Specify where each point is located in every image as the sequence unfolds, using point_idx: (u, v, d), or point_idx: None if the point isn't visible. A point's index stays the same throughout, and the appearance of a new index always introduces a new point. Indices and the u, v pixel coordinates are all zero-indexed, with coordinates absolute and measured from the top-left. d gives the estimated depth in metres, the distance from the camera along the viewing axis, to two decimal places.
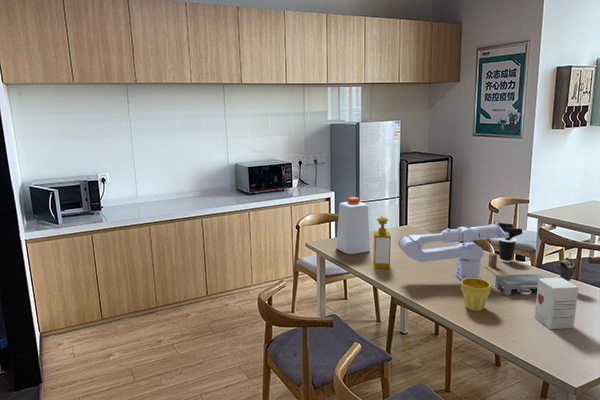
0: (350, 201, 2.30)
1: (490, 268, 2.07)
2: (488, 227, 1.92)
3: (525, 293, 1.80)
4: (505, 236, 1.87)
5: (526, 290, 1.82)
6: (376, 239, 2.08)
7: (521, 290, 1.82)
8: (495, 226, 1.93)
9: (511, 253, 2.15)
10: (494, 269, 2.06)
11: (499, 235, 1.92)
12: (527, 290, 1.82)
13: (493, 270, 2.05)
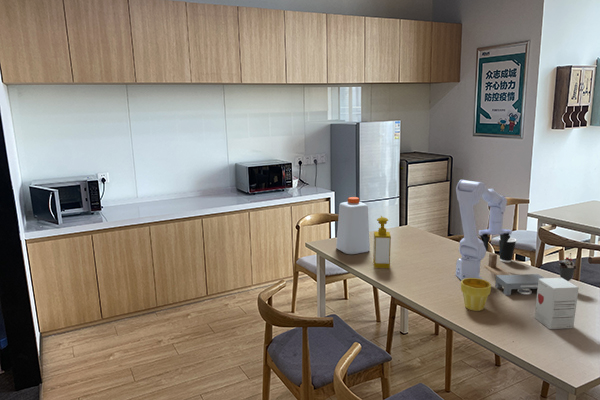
0: (350, 201, 2.30)
1: (490, 268, 2.07)
2: None
3: (525, 293, 1.80)
4: None
5: (526, 290, 1.82)
6: (376, 239, 2.08)
7: (521, 290, 1.82)
8: None
9: (511, 253, 2.15)
10: (494, 269, 2.06)
11: (502, 231, 2.05)
12: (527, 290, 1.82)
13: (493, 270, 2.05)
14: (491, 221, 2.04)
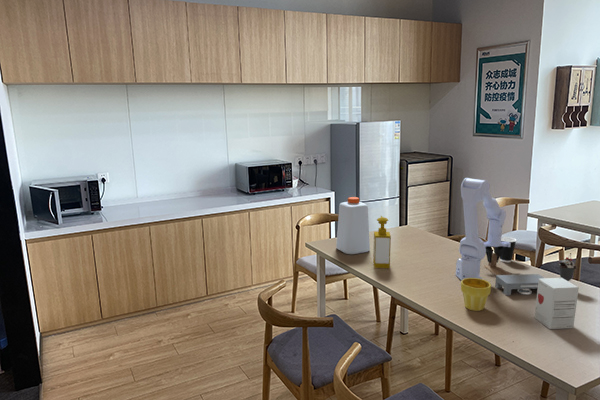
0: (350, 201, 2.30)
1: (490, 268, 2.07)
2: None
3: (525, 293, 1.80)
4: None
5: (526, 290, 1.82)
6: (376, 239, 2.08)
7: (521, 290, 1.82)
8: None
9: (511, 253, 2.15)
10: (494, 269, 2.06)
11: (501, 243, 2.06)
12: (527, 290, 1.82)
13: (493, 270, 2.04)
14: (490, 234, 2.05)
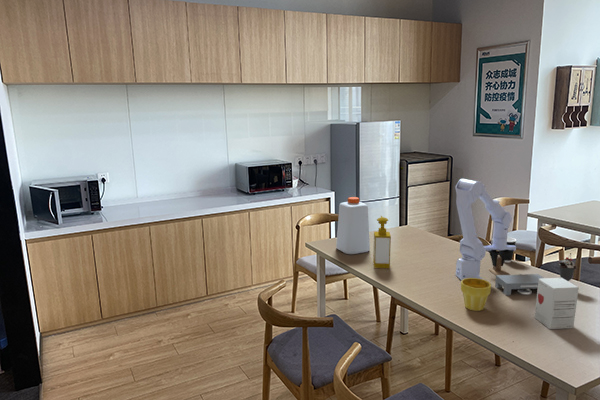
0: (350, 201, 2.30)
1: (495, 271, 2.02)
2: None
3: (525, 293, 1.80)
4: None
5: (526, 290, 1.82)
6: (376, 239, 2.08)
7: (521, 290, 1.82)
8: None
9: (511, 253, 2.15)
10: (499, 272, 2.01)
11: (506, 247, 2.01)
12: (527, 290, 1.82)
13: (498, 273, 2.00)
14: (495, 237, 2.00)
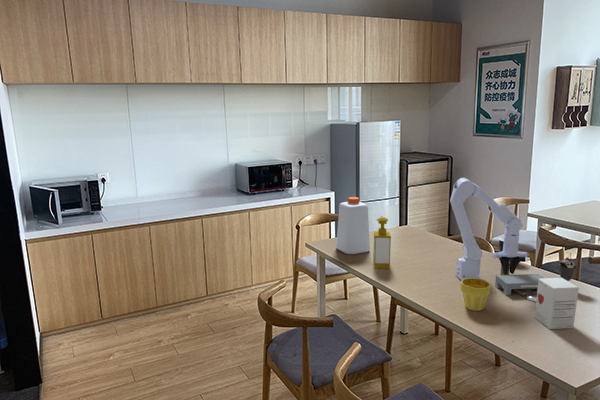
0: (350, 201, 2.30)
1: None
2: None
3: (534, 300, 1.73)
4: None
5: (535, 296, 1.75)
6: (376, 239, 2.08)
7: (530, 296, 1.75)
8: None
9: None
10: None
11: (517, 253, 1.92)
12: (536, 296, 1.75)
13: None
14: (506, 243, 1.91)
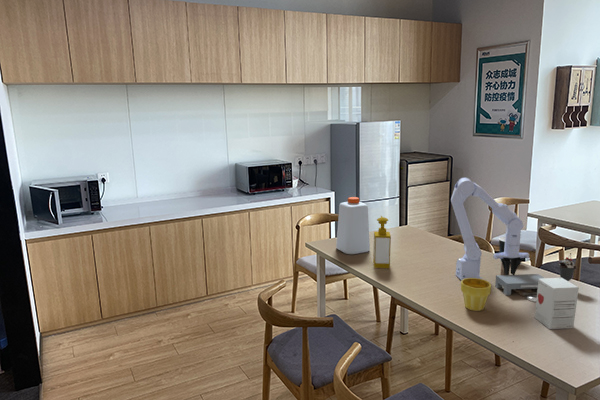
0: (350, 201, 2.30)
1: None
2: None
3: (534, 300, 1.73)
4: None
5: (535, 297, 1.75)
6: (376, 239, 2.08)
7: (530, 297, 1.75)
8: None
9: None
10: None
11: (519, 254, 1.91)
12: (536, 297, 1.75)
13: None
14: (507, 244, 1.90)
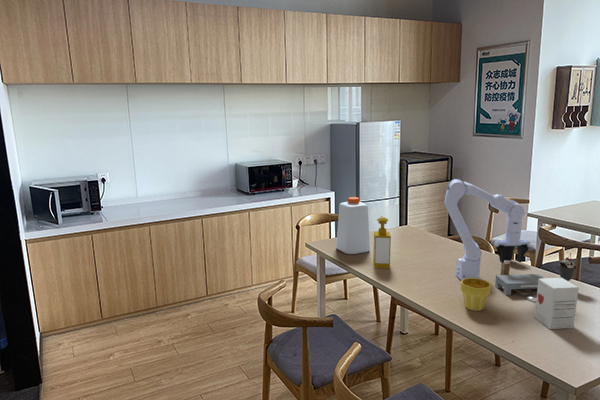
0: (350, 201, 2.30)
1: None
2: None
3: (534, 300, 1.73)
4: None
5: (535, 297, 1.75)
6: (376, 239, 2.08)
7: (530, 297, 1.75)
8: None
9: (511, 253, 2.15)
10: None
11: (520, 242, 1.90)
12: (536, 297, 1.75)
13: None
14: (508, 231, 1.89)
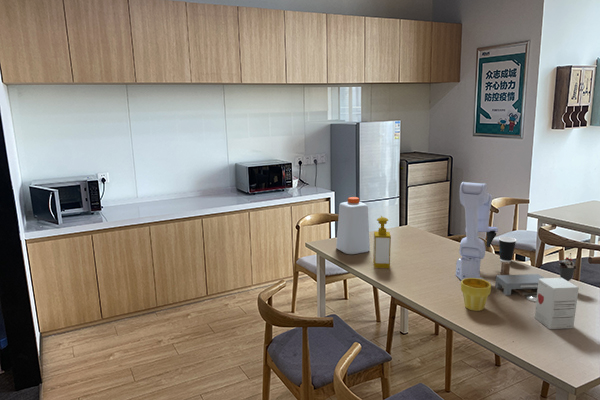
0: (350, 201, 2.30)
1: None
2: None
3: (534, 300, 1.73)
4: None
5: (535, 297, 1.75)
6: (376, 239, 2.08)
7: (530, 297, 1.75)
8: None
9: (511, 253, 2.15)
10: None
11: (488, 228, 2.08)
12: (536, 297, 1.75)
13: None
14: (477, 219, 2.06)
